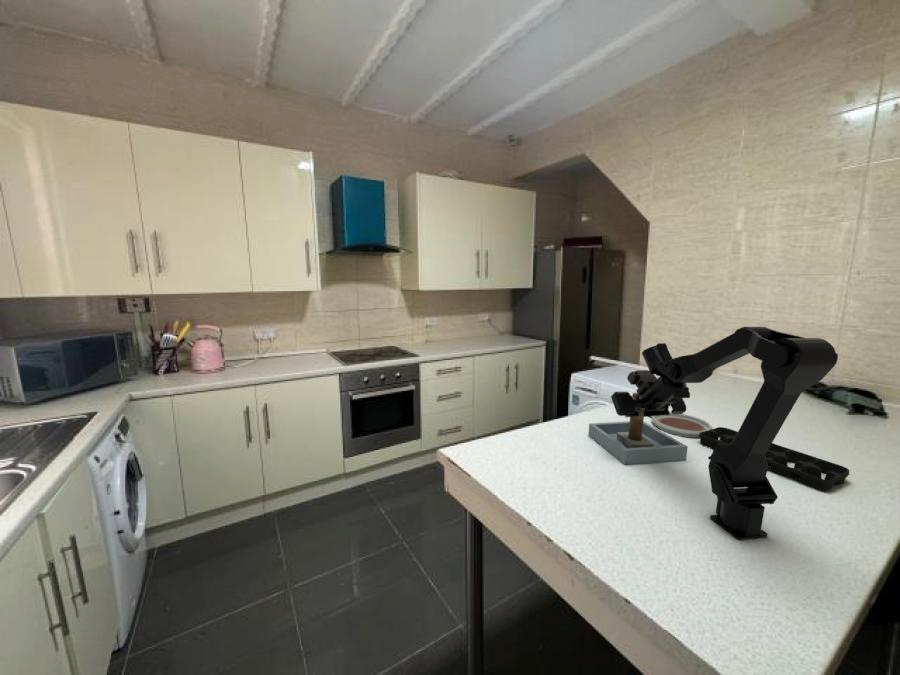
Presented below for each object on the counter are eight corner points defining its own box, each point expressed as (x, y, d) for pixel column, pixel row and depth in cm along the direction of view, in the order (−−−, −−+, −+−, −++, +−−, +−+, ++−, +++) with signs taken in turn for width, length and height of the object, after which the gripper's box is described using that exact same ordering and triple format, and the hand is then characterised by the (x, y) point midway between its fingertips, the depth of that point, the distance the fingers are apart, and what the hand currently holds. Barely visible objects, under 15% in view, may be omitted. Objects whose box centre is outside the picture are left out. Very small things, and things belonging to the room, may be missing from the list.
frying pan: (642, 400, 138) (724, 424, 114) (641, 407, 139) (723, 433, 114) (612, 407, 131) (693, 434, 106) (612, 414, 131) (692, 444, 106)
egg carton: (841, 501, 79) (844, 485, 79) (688, 450, 103) (690, 437, 102) (851, 475, 90) (853, 461, 89) (710, 434, 113) (712, 423, 113)
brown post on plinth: (652, 450, 99) (658, 399, 97) (632, 451, 99) (637, 400, 96) (635, 438, 107) (640, 390, 105) (616, 438, 107) (621, 390, 104)
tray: (685, 460, 96) (687, 446, 95) (624, 465, 93) (625, 450, 93) (641, 432, 113) (642, 420, 113) (588, 435, 111) (589, 423, 110)
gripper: (683, 362, 96) (653, 390, 109) (617, 363, 95) (594, 391, 107) (703, 400, 90) (668, 424, 102) (632, 402, 88) (606, 426, 101)
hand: (633, 415), depth 103 cm, fingers open, 5 cm apart
